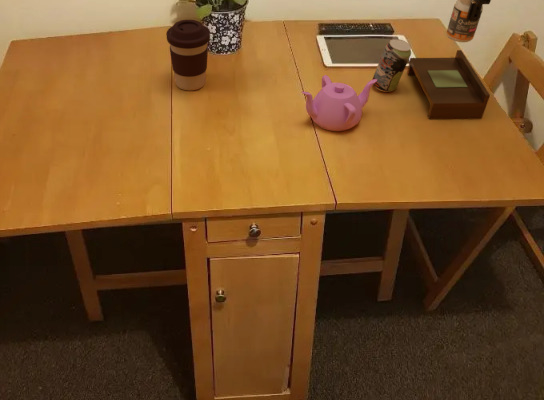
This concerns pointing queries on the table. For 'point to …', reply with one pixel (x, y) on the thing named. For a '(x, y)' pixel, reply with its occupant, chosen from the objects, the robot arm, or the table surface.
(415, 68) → the shelf
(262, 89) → the table surface
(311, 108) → the teapot
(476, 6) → the robot arm
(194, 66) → the coffee cup
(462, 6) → the pill bottle
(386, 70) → the beverage can
